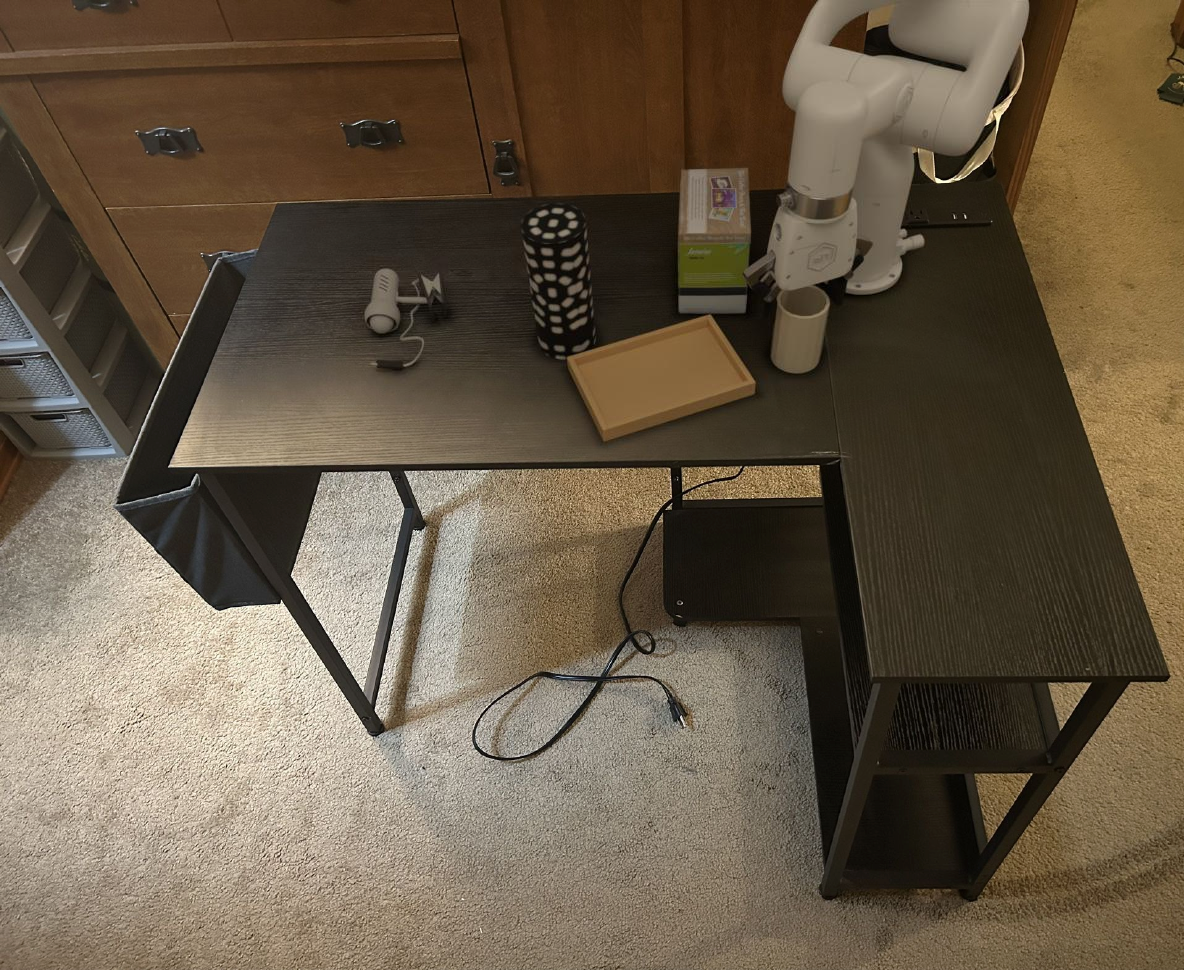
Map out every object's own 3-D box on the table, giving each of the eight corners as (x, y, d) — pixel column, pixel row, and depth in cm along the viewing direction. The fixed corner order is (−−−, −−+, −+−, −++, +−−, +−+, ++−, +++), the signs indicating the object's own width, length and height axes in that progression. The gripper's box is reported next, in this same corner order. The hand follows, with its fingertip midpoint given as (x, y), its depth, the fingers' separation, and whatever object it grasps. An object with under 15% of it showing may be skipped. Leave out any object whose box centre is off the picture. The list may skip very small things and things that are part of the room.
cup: (805, 334, 130) (814, 278, 122) (828, 365, 126) (839, 309, 118) (762, 347, 129) (768, 292, 121) (784, 379, 125) (791, 324, 117)
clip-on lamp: (443, 383, 133) (451, 281, 140) (438, 359, 127) (446, 254, 135) (361, 382, 132) (373, 280, 140) (352, 358, 127) (365, 253, 134)
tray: (709, 326, 132) (710, 313, 130) (754, 394, 124) (755, 382, 122) (567, 368, 129) (566, 357, 127) (603, 442, 120) (602, 430, 118)
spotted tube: (589, 362, 129) (578, 246, 114) (532, 356, 131) (513, 241, 115) (600, 322, 134) (591, 205, 118) (545, 317, 136) (529, 201, 120)
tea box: (679, 250, 143) (680, 166, 131) (744, 249, 142) (751, 165, 130) (676, 315, 134) (677, 231, 122) (746, 316, 133) (754, 231, 121)
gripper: (765, 230, 103) (752, 344, 116) (902, 193, 106) (874, 309, 119) (736, 194, 107) (727, 308, 121) (868, 160, 110) (845, 275, 124)
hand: (800, 309), depth 120 cm, fingers open, 9 cm apart
